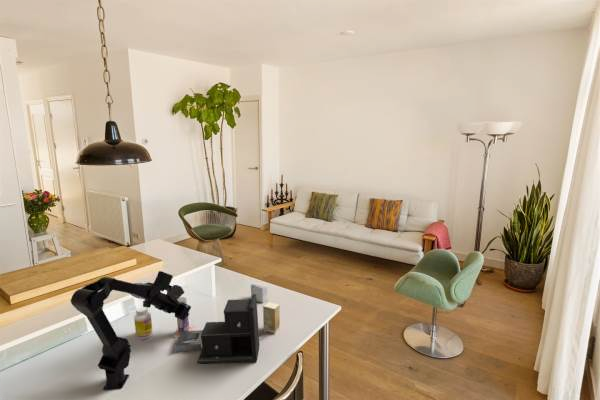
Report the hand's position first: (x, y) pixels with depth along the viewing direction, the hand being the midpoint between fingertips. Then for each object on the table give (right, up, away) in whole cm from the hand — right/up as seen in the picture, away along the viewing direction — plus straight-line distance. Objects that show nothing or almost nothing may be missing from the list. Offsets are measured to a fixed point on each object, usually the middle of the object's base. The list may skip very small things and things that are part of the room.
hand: (184, 313), depth 151 cm
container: (-1, -8, 0) cm, 8 cm away
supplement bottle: (-18, -10, -1) cm, 20 cm away
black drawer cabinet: (+23, -12, -15) cm, 30 cm away
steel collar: (+5, -10, -8) cm, 14 cm away
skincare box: (+39, -8, +1) cm, 39 cm away
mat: (-1, -9, +1) cm, 9 cm away
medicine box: (+30, -3, +29) cm, 42 cm away
